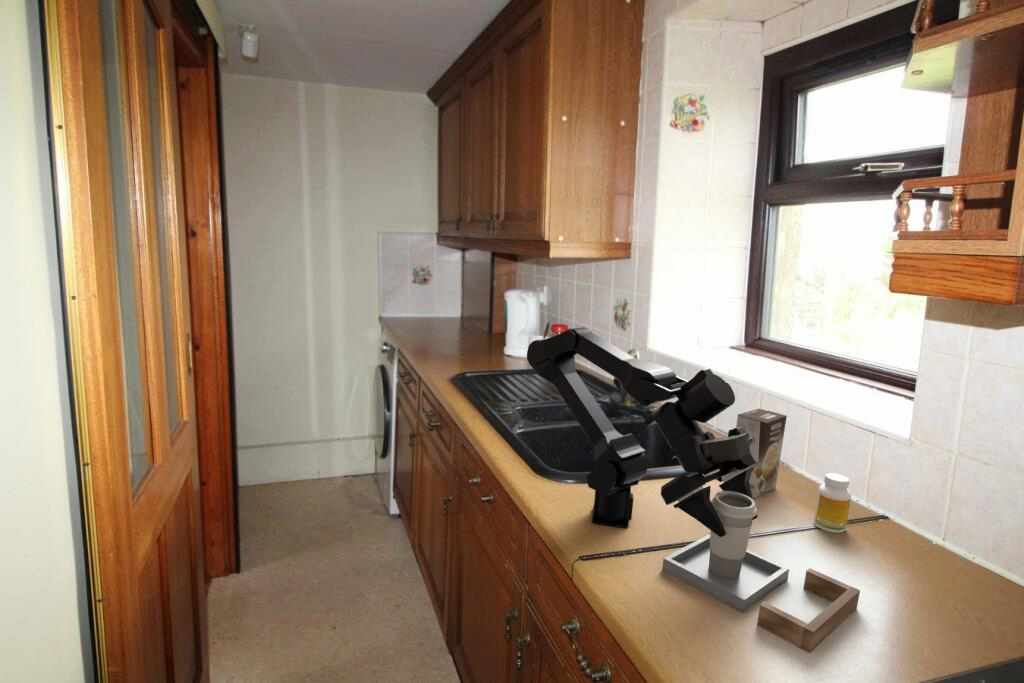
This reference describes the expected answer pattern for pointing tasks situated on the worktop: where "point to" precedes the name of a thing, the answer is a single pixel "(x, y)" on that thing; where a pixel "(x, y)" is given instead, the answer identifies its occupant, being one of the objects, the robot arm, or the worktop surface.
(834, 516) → the supplement bottle
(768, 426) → the coffee box
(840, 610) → the cubby
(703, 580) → the tray
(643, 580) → the worktop surface
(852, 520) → the worktop surface
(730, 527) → the cup
